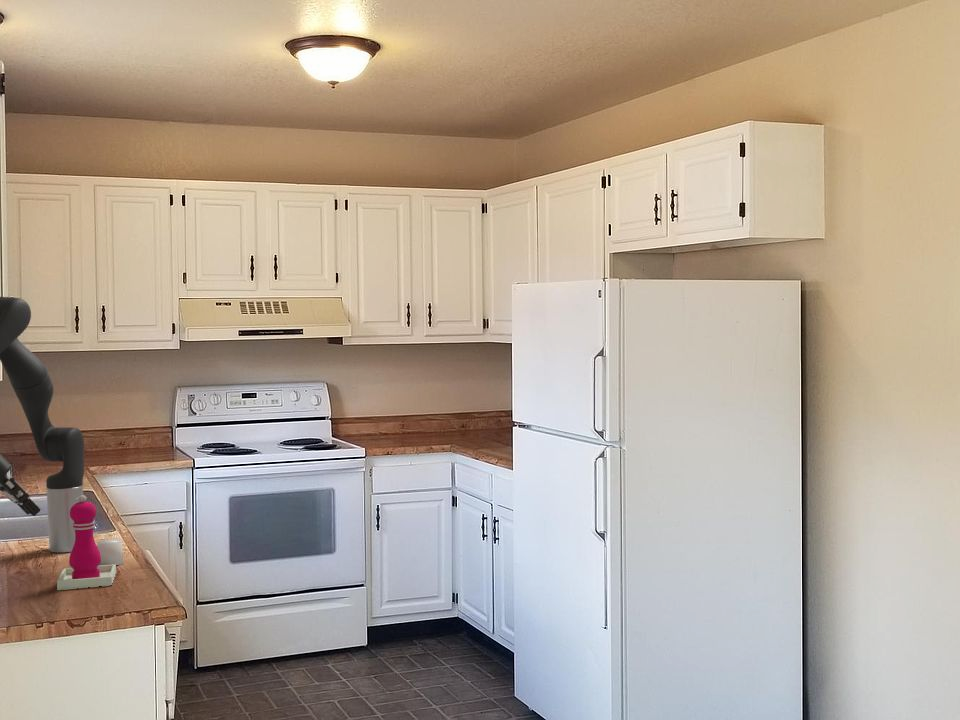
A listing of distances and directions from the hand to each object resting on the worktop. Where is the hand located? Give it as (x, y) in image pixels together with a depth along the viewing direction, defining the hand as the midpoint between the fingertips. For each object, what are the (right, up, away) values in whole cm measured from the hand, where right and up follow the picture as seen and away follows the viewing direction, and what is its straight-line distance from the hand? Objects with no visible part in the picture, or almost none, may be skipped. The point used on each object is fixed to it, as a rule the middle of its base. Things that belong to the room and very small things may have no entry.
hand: (34, 512), depth 256 cm
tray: (+12, -17, +1) cm, 21 cm away
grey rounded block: (+12, -16, +18) cm, 27 cm away
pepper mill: (+12, -16, +2) cm, 20 cm away
